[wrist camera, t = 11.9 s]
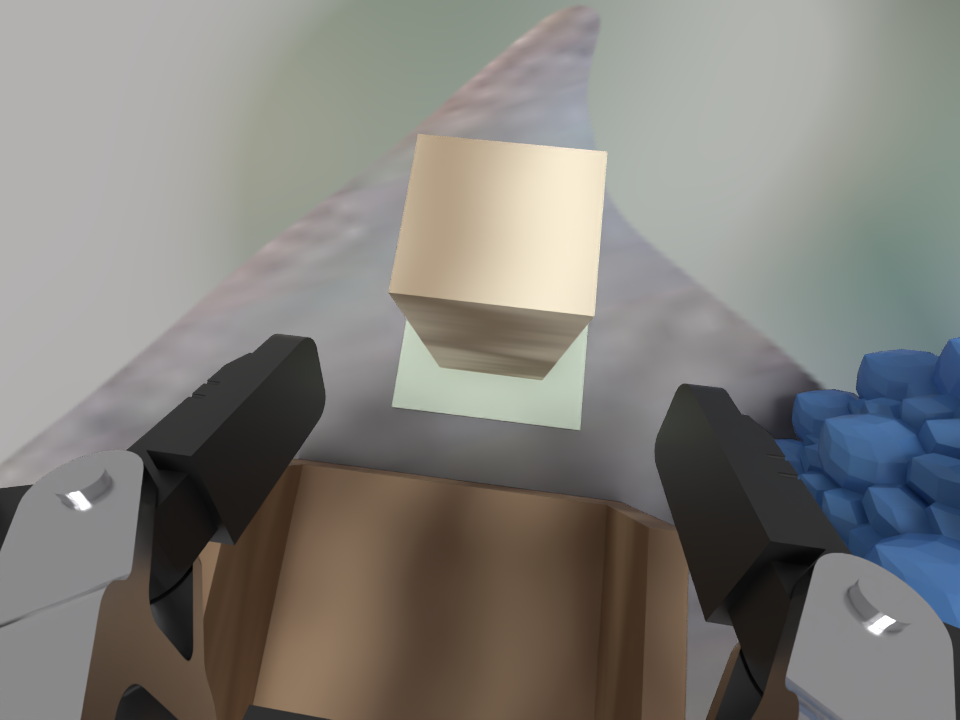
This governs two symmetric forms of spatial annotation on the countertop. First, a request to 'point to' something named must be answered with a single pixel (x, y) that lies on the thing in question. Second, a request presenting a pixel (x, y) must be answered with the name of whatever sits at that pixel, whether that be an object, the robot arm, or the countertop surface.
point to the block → (499, 252)
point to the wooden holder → (444, 603)
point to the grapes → (891, 467)
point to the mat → (492, 388)
